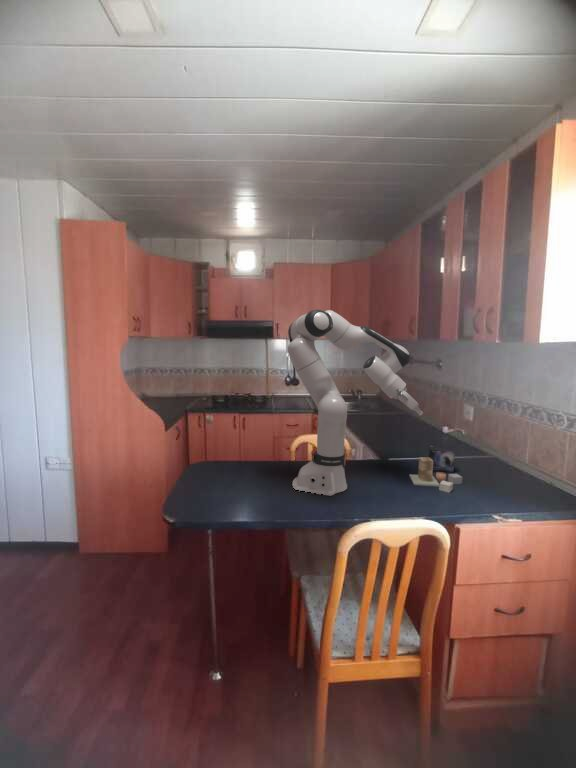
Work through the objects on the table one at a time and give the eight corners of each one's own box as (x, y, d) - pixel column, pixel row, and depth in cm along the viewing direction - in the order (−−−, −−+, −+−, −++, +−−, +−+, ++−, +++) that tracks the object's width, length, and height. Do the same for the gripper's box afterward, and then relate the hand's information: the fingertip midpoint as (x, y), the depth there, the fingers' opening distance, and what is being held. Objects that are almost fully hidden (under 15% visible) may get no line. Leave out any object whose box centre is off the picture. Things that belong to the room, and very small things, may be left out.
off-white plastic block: (439, 490, 148) (439, 483, 147) (442, 487, 151) (442, 480, 150) (449, 493, 145) (449, 485, 145) (452, 489, 148) (453, 482, 148)
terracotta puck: (437, 482, 156) (437, 475, 156) (434, 478, 160) (434, 471, 160) (446, 482, 156) (447, 475, 155) (444, 478, 160) (444, 472, 159)
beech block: (421, 481, 154) (422, 460, 153) (418, 477, 159) (419, 457, 158) (432, 481, 154) (433, 461, 153) (428, 477, 159) (429, 457, 157)
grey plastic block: (453, 484, 154) (453, 477, 154) (447, 480, 158) (448, 474, 157) (461, 484, 154) (462, 477, 154) (456, 480, 158) (456, 473, 158)
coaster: (414, 485, 152) (414, 483, 152) (409, 476, 162) (409, 474, 162) (439, 486, 151) (439, 484, 151) (432, 477, 161) (432, 475, 161)
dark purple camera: (429, 471, 168) (430, 449, 167) (427, 466, 175) (428, 445, 173) (454, 473, 166) (455, 451, 164) (451, 468, 172) (452, 446, 171)
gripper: (406, 386, 141) (431, 411, 141) (396, 380, 162) (419, 402, 161) (393, 397, 142) (419, 422, 142) (386, 390, 163) (408, 412, 163)
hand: (418, 411), depth 152 cm, fingers open, 8 cm apart
